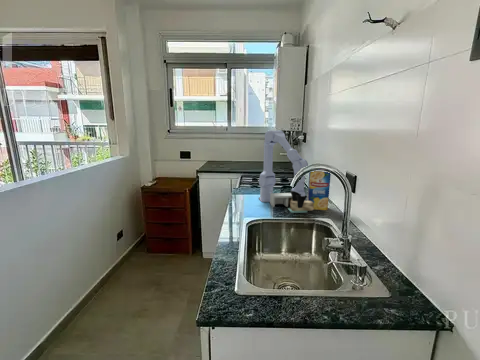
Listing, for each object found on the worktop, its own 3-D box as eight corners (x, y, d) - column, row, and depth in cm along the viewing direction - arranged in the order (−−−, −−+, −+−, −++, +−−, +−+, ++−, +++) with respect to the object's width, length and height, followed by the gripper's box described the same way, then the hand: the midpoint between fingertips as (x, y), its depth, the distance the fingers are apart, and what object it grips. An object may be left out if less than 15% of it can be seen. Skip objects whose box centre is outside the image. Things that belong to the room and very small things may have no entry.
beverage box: (327, 210, 152) (331, 171, 148) (307, 208, 154) (310, 170, 149) (325, 206, 159) (329, 169, 154) (306, 205, 160) (309, 169, 156)
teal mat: (287, 208, 153) (287, 207, 153) (302, 208, 154) (302, 207, 154) (291, 212, 146) (291, 211, 146) (307, 212, 147) (307, 211, 147)
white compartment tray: (269, 203, 162) (270, 193, 161) (298, 203, 165) (299, 192, 164) (272, 207, 156) (273, 196, 154) (302, 206, 158) (303, 195, 157)
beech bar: (310, 208, 153) (310, 200, 152) (313, 210, 149) (313, 202, 148) (289, 208, 151) (290, 200, 150) (292, 210, 147) (292, 203, 146)
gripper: (287, 179, 153) (286, 202, 156) (296, 184, 139) (295, 209, 142) (299, 179, 154) (298, 201, 157) (309, 184, 140) (307, 209, 143)
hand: (297, 205), depth 149 cm, fingers open, 7 cm apart
